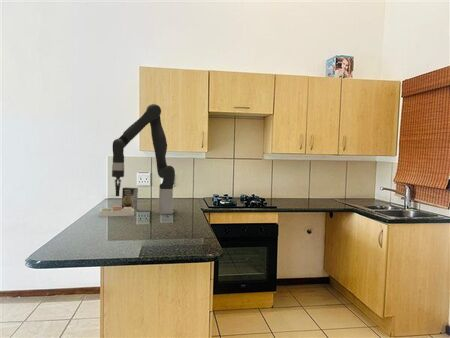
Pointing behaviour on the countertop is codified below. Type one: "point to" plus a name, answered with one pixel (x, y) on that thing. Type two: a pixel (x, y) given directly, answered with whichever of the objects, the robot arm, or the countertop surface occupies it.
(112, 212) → the cream flat tray
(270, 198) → the countertop surface
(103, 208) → the sage key
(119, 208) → the terracotta key
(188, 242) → the countertop surface
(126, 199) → the coffee box
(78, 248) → the countertop surface
